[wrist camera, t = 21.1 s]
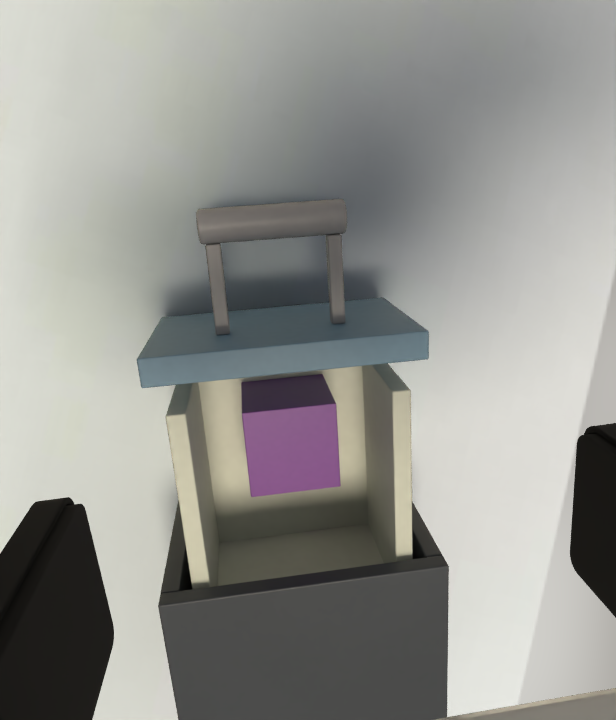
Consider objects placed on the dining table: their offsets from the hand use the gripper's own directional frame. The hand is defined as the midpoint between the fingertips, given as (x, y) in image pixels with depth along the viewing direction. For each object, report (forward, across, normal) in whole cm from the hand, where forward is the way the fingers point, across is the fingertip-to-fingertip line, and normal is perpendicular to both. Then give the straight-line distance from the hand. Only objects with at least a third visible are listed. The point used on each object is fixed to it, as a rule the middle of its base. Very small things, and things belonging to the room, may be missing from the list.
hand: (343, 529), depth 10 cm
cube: (+18, 0, +5) cm, 19 cm away
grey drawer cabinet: (+20, +1, +18) cm, 27 cm away
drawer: (+19, 0, +4) cm, 20 cm away
